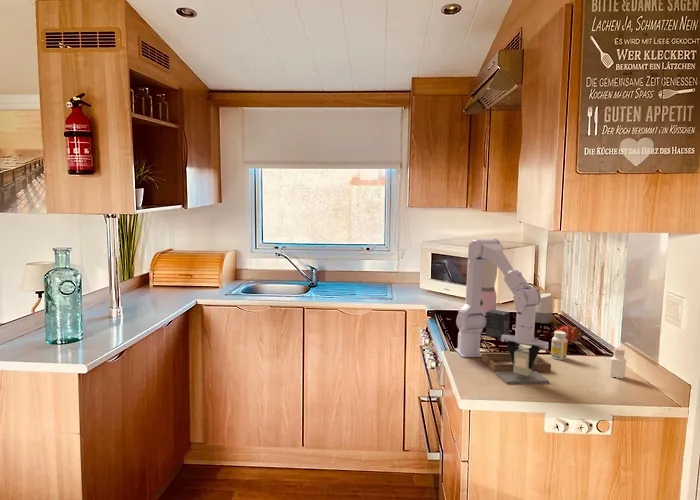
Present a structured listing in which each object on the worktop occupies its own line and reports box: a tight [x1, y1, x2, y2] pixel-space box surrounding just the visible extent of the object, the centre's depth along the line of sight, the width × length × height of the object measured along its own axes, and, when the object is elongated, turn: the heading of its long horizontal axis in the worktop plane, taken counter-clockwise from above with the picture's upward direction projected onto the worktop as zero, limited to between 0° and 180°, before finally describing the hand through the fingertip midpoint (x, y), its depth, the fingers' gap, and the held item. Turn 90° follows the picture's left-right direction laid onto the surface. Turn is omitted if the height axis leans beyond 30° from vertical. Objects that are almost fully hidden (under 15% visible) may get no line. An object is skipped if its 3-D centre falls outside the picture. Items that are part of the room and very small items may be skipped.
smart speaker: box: [535, 292, 553, 325], centre depth 242 cm, size 10×9×14 cm
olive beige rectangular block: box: [513, 347, 532, 376], centre depth 167 cm, size 4×5×7 cm
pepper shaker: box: [609, 347, 627, 380], centre depth 171 cm, size 4×4×10 cm
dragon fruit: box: [550, 324, 583, 346], centre depth 209 cm, size 8×8×12 cm
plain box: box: [518, 344, 537, 364], centre depth 181 cm, size 4×4×7 cm
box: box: [485, 309, 511, 339], centre depth 218 cm, size 8×6×11 cm
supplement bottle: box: [550, 331, 568, 361], centre depth 190 cm, size 5×5×10 cm
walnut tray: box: [481, 352, 552, 373], centre depth 181 cm, size 13×20×2 cm, turn 96°
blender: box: [480, 259, 498, 316], centre depth 255 cm, size 16×12×32 cm
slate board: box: [495, 371, 550, 385], centre depth 168 cm, size 9×14×1 cm, turn 96°
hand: (522, 366), depth 168 cm, fingers closed on olive beige rectangular block, 4 cm apart
